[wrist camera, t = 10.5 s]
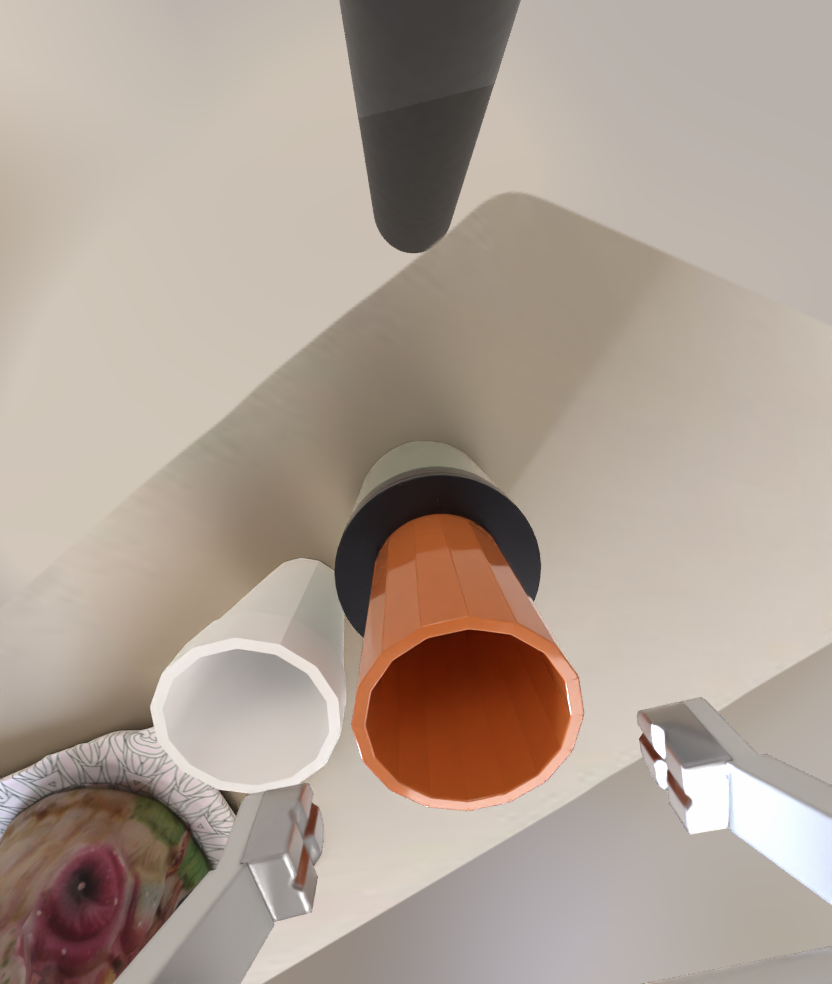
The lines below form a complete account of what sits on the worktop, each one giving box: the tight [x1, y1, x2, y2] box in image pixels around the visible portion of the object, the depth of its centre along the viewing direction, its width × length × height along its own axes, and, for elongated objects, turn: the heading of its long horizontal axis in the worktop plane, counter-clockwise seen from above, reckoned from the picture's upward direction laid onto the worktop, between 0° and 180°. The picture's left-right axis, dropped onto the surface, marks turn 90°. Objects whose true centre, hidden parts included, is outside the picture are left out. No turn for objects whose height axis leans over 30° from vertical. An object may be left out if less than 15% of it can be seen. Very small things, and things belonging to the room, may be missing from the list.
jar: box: [350, 441, 498, 517], centre depth 26 cm, size 10×10×12 cm
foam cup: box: [150, 558, 347, 794], centre depth 27 cm, size 10×9×13 cm
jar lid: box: [334, 467, 541, 638], centre depth 21 cm, size 10×10×2 cm
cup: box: [351, 514, 584, 811], centre depth 16 cm, size 6×6×9 cm
